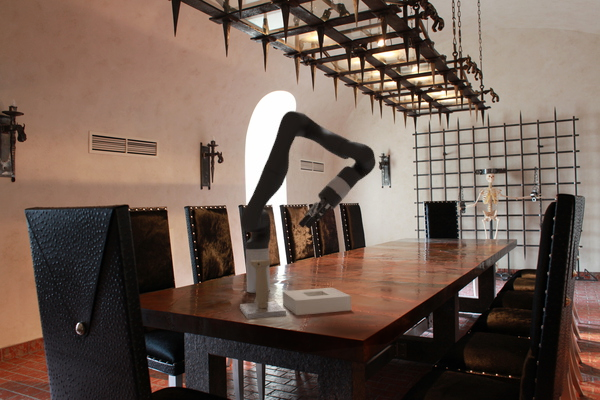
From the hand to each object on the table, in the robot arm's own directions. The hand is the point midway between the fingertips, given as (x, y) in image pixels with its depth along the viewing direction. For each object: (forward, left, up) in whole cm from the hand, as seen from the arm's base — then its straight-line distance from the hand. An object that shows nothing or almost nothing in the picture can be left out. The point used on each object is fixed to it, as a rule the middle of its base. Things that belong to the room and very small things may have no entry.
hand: (303, 226), depth 164 cm
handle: (+7, -16, -25) cm, 31 cm away
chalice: (-12, -13, -27) cm, 32 cm away
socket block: (+6, +2, -27) cm, 27 cm away
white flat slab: (+6, -16, -27) cm, 32 cm away
